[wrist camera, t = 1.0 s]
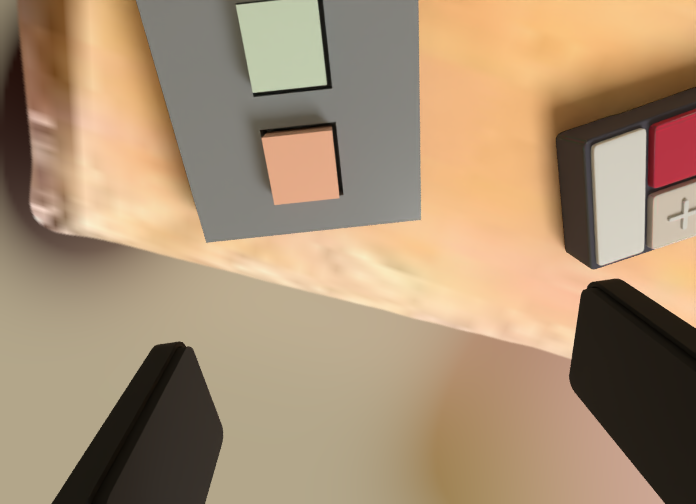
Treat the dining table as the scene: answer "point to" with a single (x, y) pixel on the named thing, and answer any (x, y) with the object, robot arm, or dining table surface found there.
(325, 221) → the keypad
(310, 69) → the key sage
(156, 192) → the dining table surface
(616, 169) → the button control box
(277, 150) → the key terracotta
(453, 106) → the dining table surface
